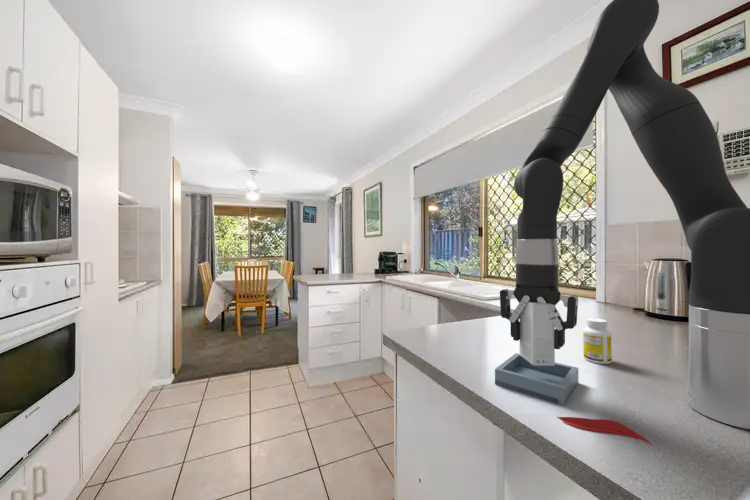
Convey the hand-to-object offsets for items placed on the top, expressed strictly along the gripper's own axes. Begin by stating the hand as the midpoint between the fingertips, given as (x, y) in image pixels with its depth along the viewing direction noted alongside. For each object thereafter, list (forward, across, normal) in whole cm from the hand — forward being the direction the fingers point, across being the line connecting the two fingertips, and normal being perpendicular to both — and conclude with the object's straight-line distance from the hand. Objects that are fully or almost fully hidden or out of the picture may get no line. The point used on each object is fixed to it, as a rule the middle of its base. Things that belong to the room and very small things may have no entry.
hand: (536, 343), depth 59 cm
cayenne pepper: (+8, -12, +10) cm, 17 cm away
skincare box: (+4, 0, 0) cm, 4 cm away
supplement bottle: (+8, -7, -23) cm, 25 cm away
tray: (+8, 0, 0) cm, 8 cm away
